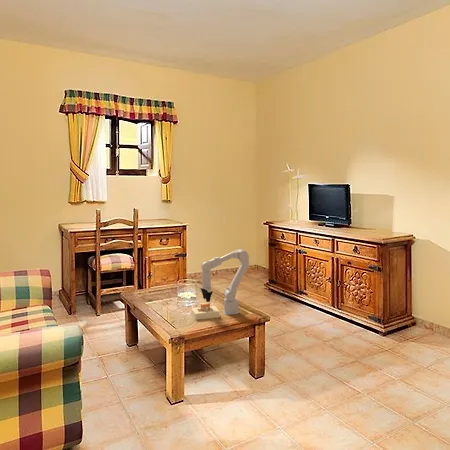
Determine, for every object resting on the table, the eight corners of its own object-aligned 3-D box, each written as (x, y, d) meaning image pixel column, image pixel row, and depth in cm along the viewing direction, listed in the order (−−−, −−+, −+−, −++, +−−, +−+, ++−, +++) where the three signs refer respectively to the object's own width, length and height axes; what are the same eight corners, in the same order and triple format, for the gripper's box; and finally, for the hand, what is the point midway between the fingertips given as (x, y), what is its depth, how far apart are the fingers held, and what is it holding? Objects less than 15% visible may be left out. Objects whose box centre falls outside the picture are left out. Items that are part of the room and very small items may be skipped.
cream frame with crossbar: (214, 311, 270) (214, 303, 269) (219, 317, 258) (219, 308, 258) (191, 313, 265) (191, 305, 265) (195, 319, 254) (195, 311, 253)
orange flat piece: (209, 311, 263) (209, 303, 262) (209, 312, 262) (209, 304, 261) (200, 312, 261) (200, 304, 261) (201, 313, 260) (201, 305, 260)
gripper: (197, 278, 268) (198, 297, 269) (203, 283, 254) (203, 303, 256) (207, 277, 270) (208, 296, 271) (213, 282, 256) (214, 302, 258)
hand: (206, 300), depth 264 cm, fingers open, 7 cm apart
